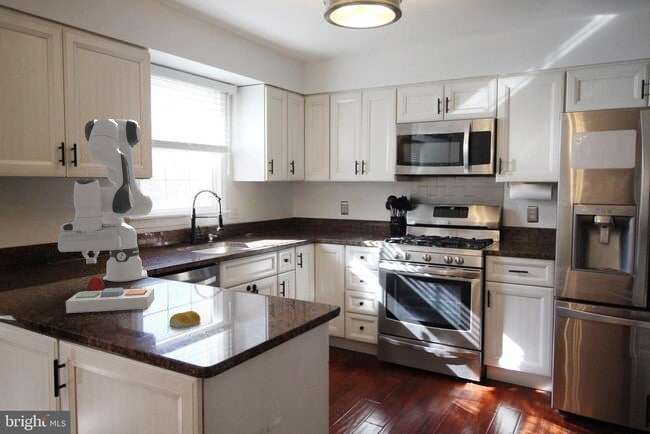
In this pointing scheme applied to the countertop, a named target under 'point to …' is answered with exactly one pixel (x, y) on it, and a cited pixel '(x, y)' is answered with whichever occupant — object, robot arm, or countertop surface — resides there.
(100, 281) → the onion
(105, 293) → the key slate
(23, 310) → the countertop surface
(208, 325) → the countertop surface
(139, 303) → the keypad
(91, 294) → the key sage
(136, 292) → the key terracotta
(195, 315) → the bread roll
